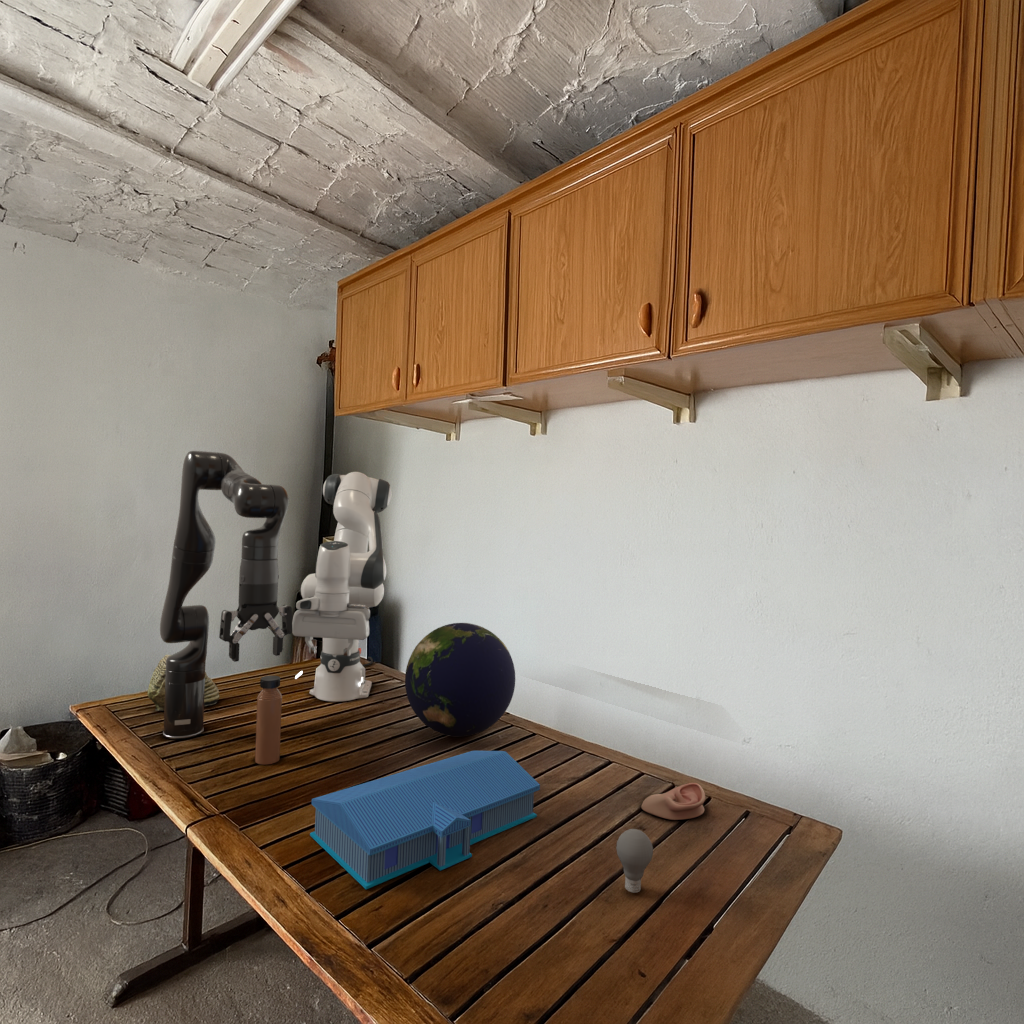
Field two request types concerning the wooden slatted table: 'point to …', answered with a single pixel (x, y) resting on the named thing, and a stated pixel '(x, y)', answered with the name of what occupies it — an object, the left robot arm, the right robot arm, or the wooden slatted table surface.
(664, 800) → the anatomical model
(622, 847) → the light bulb
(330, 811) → the model building
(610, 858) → the wooden slatted table surface
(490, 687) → the globe
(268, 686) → the cap
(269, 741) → the bottle
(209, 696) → the fossil
